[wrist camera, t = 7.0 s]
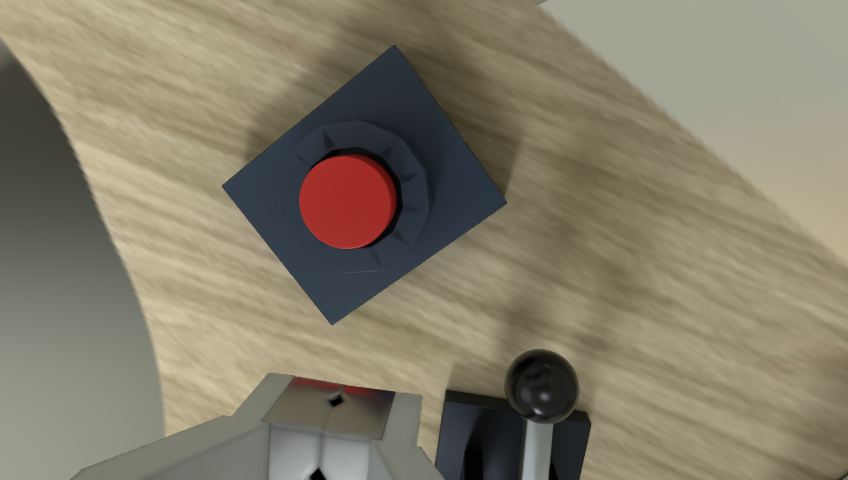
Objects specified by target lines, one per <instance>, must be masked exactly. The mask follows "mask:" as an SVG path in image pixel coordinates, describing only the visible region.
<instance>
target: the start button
mask: <svg viewBox="0 0 848 480" xmlns="http://www.w3.org/2000/svg"><path fill="white" fill-rule="evenodd" d="M299 203H300V210H301V214H302V217H303V220H304V222H305V224H306V225H307V227H308V228H309V230H310V231H311V232H312V233H313V234H314V235H315V236H316V237H317V238H318V239H319V240H321V241H322V242H324V243H326V244H328V245H330V246H333V247H336V248H341V249H354V248H359V247H362V246H365V245H367V244H369V243H371V242H372V241H374V240H375V239H376V238H377V237H378V236H379V235H380V234H381V233H382V232H383V231H384V230H385V228H386V227H387V226H388V225H389V224H390V222H391V220H392V218H393V216H394V214H395V211H396V206H397V193H396V188H395V185H394V182H393V180H392V178H391V176H390V175H389V173H388V172H387V171H386V170H385V168H384V167H382V166H381V165H380V164H379V163H378V162H376V161H375V160H373V159H371V158H368V157H366V156H362V155H356V154H348V155H342V156H336V157H331V158H328V159H326V160H324V161H322V162H320V163H319V164H317V165H316V166H315V167H314V168H312V169H311V171H310V172H309V173H308V174H307V176H306V177H305V179H304V181H303V184H302V187H301V190H300V198H299Z"/></svg>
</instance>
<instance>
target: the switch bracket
mask: <svg viewBox="0 0 848 480" xmlns="http://www.w3.org/2000/svg"><path fill="white" fill-rule="evenodd" d="M523 421H524V419H523V418H521V417H520V416H519V415H518V414H517V413H516V412H515V411H514V410H513V409H512V407H511V406H510V404H509V402H508V400H507V399H500V398H494V397H488V396H482V395H475V394H469V393H463V392H457V391H450V390H446V391H445V398H444V405H443V412H442V419H441V426H440V433H439V440H438V447H437V454H436V460H435V467H436V468H437V470H438V471H439V472H440V474H441V475H442V476H443V478H444V479H445V480H518V472H519V462H520V451H521V441H522V431H523ZM590 429H591V422H590V419H589V417H588V414H587V413H586V412H582V411H576V410H573V412H572V413H571V414H570V415H569V416H568V417H567V418H565V419H564V420H562V421H560V422H558V423H556V424H553V433H552V444H551V456H550V468H549V479H548V480H579V478H580V474H581V469H582V465H583V460H584V456H585V451H586V447H587V442H588V438H589V433H590Z"/></svg>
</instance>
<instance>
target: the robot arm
mask: <svg viewBox="0 0 848 480" xmlns="http://www.w3.org/2000/svg"><path fill="white" fill-rule="evenodd" d="M422 399H423V397H422V395H419V394H410V393H401V392H395V391H387V390H379V389H371V388H363V387H355V386H347V385H344V384H338V383H332V382H326V381H321V380H315V379H309V378H303V377H296V376H294V375H286V374H279V373H268V374H267V375H266V376H265V378H264V379H263V380H262V381H261V382H260V383H259V385H258V386H257V387H256V388H255V389H254V390H253V392H252V393H251V394H250V395H249V396H248V397H247V399H246V400H245V401H244V402H243V403H242V405H241V406H240V407H239V408H238V409H237V410H236V412H235V413H234V414H233V415H232V416H231V417H230V416H224V415H223V416H221V417H218V418H215V419H213V420H210V421H207V422H205V423H202V424H200V425H197V426H194V427H192V428H189V429H186V430H184V431H181V432H178V433H176V434H173V435H171V436H168V437H165V438H163V439H160V440H158V441H155V442H152V443H150V444H147V445H144V446H142V447H139V448H136V449H134V450H131V451H129V452H126V453H123V454H121V455H118V456H115V457H113V458H110V459H108V460H105V461H102V462H99V463H97V464H94V465H92V466H89V467H86V468H84V469H82V470H81V471H79V472H78V473H77V474H76V475H75V476H74V477H72V478H71V479H70V480H445V479H444V478H443V476H442V475H441V474H440V472H439V471H438V470H437V468H436V467H435V466H434V464H433V463H432V462H431V460H430V459H429V457H428V456H427V455H426V453H425V452H424V451H423V449H422V448H421V447H418V446H417V441H418V433H419V425H420V417H421V409H422Z"/></svg>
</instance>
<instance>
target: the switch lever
mask: <svg viewBox="0 0 848 480" xmlns="http://www.w3.org/2000/svg"><path fill="white" fill-rule="evenodd" d="M504 386H505V393H506V397H507V400H508V402H509V404H510V406H511V407H512V409H513V410H514V411H515V412H516V413H517V414H518V415H519V416H520V417H521V418H523V419H524V421H523V431H522V441H521V451H520V462H519V472H518V480H548V479H549V468H550V456H551V444H552V433H553V424H556V423H558V422H560V421H562V420H564V419H565V418H567V417H568V416H569V415H570V414H571V413H572V412H573V410H574V409H575V407H576V405H577V402H578V399H579V393H580V387H579V381H578V377H577V374H576V372H575V370H574V369H573V367H572V366H571V364H570V363H569V362H568V361H567V360H566V359H565V358H564V357H562V356H561V355H559V354H557V353H555V352H553V351H549V350H545V349H535V350H530V351H527V352H525V353H523V354H521V355H519V356H518V357H517V358H516V359H515V360H514V361H513V362H512V363H511V365H510V366H509V368H508V370H507V373H506V376H505V385H504Z"/></svg>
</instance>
